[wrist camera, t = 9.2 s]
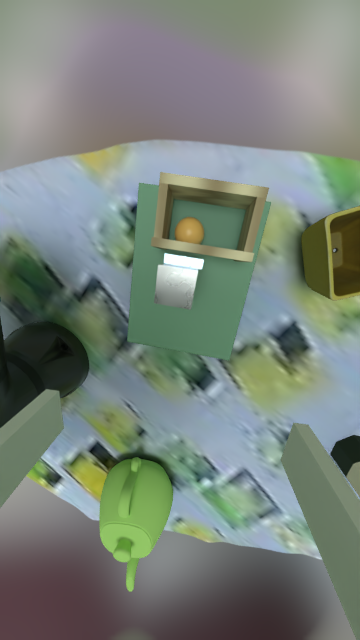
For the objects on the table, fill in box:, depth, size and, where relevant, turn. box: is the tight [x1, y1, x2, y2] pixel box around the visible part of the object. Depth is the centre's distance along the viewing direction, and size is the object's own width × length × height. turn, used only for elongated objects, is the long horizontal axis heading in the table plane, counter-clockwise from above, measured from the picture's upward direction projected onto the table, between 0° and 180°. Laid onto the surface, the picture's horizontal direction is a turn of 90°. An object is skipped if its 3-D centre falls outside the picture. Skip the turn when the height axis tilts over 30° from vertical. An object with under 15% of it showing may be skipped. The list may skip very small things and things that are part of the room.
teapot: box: [100, 457, 173, 592], centre depth 38 cm, size 22×15×13 cm
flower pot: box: [301, 206, 360, 301], centre depth 23 cm, size 9×9×9 cm
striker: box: [154, 253, 204, 310], centre depth 24 cm, size 5×5×10 cm
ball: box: [175, 217, 204, 244], centre depth 26 cm, size 4×4×4 cm
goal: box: [151, 172, 269, 262], centre depth 24 cm, size 12×8×6 cm, turn 81°
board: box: [127, 183, 271, 360], centre depth 30 cm, size 18×24×1 cm
